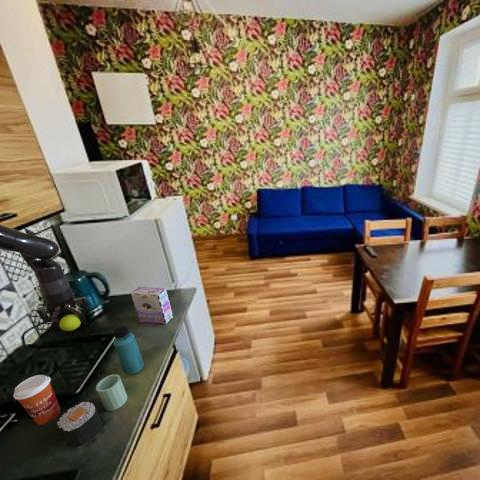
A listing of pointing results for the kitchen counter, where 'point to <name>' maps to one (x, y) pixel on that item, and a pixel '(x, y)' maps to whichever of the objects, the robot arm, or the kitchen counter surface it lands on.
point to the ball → (69, 322)
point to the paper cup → (38, 398)
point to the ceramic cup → (111, 392)
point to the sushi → (80, 423)
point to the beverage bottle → (127, 350)
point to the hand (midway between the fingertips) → (71, 324)
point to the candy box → (152, 305)
